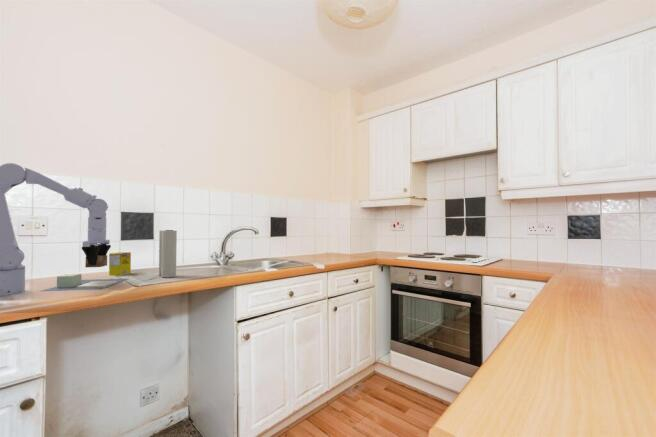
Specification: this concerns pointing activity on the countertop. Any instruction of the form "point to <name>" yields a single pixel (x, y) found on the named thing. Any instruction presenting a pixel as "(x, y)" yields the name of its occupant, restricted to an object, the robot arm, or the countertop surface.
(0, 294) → the robot arm
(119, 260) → the supplement box
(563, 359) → the countertop surface
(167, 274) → the tall grey block
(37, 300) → the countertop surface
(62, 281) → the sage block
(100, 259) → the walnut block
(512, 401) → the countertop surface
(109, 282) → the board
